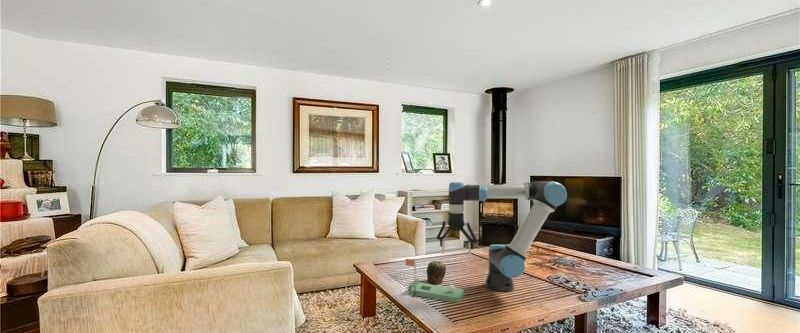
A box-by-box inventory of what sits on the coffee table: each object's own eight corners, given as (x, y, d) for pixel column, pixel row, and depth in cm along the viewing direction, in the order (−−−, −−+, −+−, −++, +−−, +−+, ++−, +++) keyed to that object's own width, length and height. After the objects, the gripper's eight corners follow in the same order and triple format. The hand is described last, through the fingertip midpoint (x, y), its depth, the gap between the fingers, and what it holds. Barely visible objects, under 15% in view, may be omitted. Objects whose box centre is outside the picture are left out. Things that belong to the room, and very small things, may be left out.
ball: (455, 291, 168) (455, 284, 169) (453, 293, 165) (453, 286, 165) (448, 290, 170) (449, 283, 170) (446, 292, 167) (447, 285, 167)
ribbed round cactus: (445, 286, 183) (445, 264, 183) (425, 284, 186) (425, 263, 186) (446, 279, 194) (446, 259, 194) (427, 278, 196) (427, 258, 196)
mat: (464, 294, 171) (464, 285, 171) (458, 302, 160) (458, 293, 160) (417, 286, 182) (417, 278, 182) (408, 294, 171) (408, 285, 171)
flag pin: (417, 295, 168) (418, 259, 169) (416, 297, 166) (416, 260, 166) (406, 293, 171) (406, 257, 171) (404, 295, 169) (404, 259, 169)
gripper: (482, 212, 168) (482, 254, 168) (434, 210, 177) (434, 250, 177) (480, 214, 161) (480, 258, 161) (430, 212, 170) (430, 253, 169)
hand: (456, 254), depth 169 cm, fingers open, 13 cm apart
